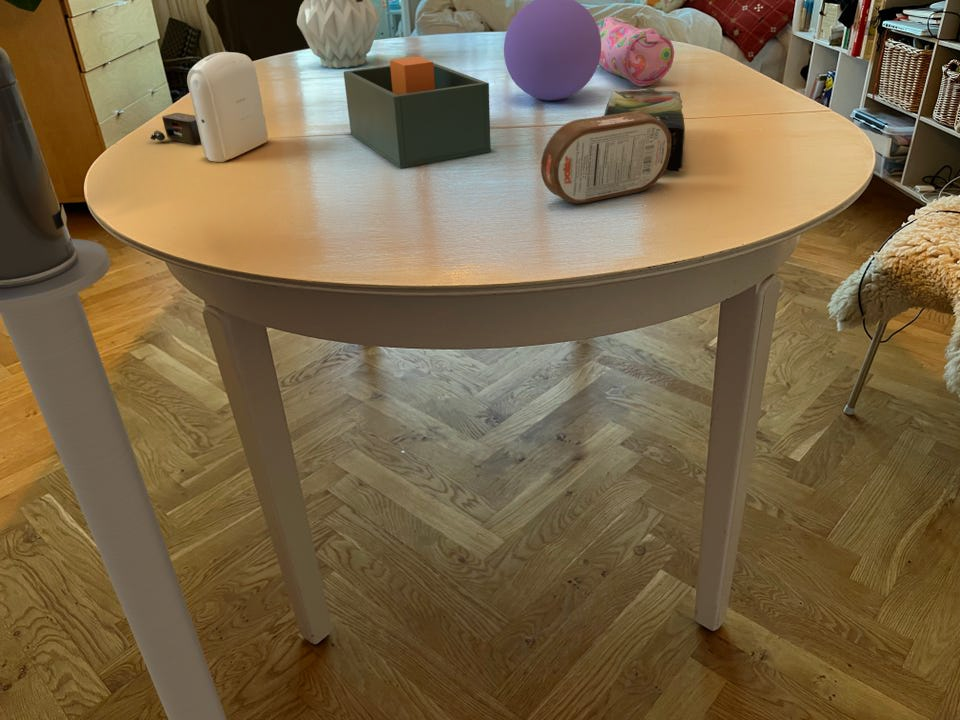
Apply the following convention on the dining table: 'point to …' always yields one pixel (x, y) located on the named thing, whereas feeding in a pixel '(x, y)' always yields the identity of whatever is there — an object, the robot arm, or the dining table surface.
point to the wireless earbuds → (179, 128)
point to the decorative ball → (552, 48)
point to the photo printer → (227, 105)
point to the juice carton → (654, 114)
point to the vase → (339, 30)
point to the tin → (605, 156)
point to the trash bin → (419, 116)
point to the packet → (411, 75)
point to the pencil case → (634, 51)
